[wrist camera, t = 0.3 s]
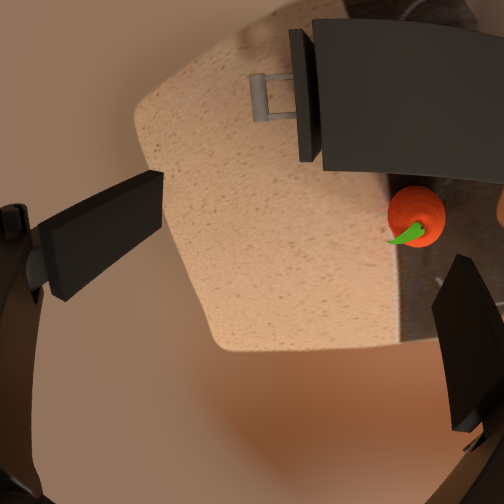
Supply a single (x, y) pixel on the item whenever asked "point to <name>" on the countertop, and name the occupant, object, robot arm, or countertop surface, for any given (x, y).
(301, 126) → the open grey drawer
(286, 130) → the countertop surface
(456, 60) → the dark drawer cabinet
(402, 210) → the clementine
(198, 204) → the countertop surface
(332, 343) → the countertop surface
